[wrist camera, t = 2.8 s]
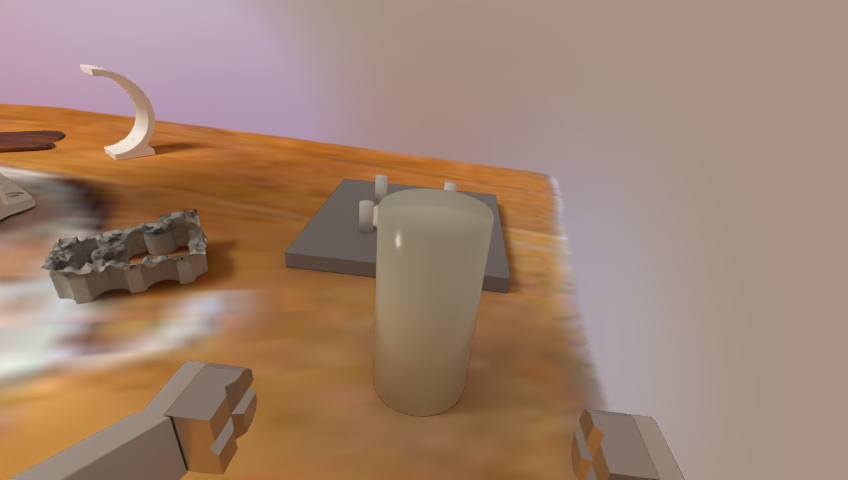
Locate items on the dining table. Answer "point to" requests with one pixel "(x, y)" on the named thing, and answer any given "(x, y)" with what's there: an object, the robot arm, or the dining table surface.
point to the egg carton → (116, 251)
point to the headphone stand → (143, 125)
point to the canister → (427, 296)
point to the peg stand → (375, 233)
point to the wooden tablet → (28, 140)
